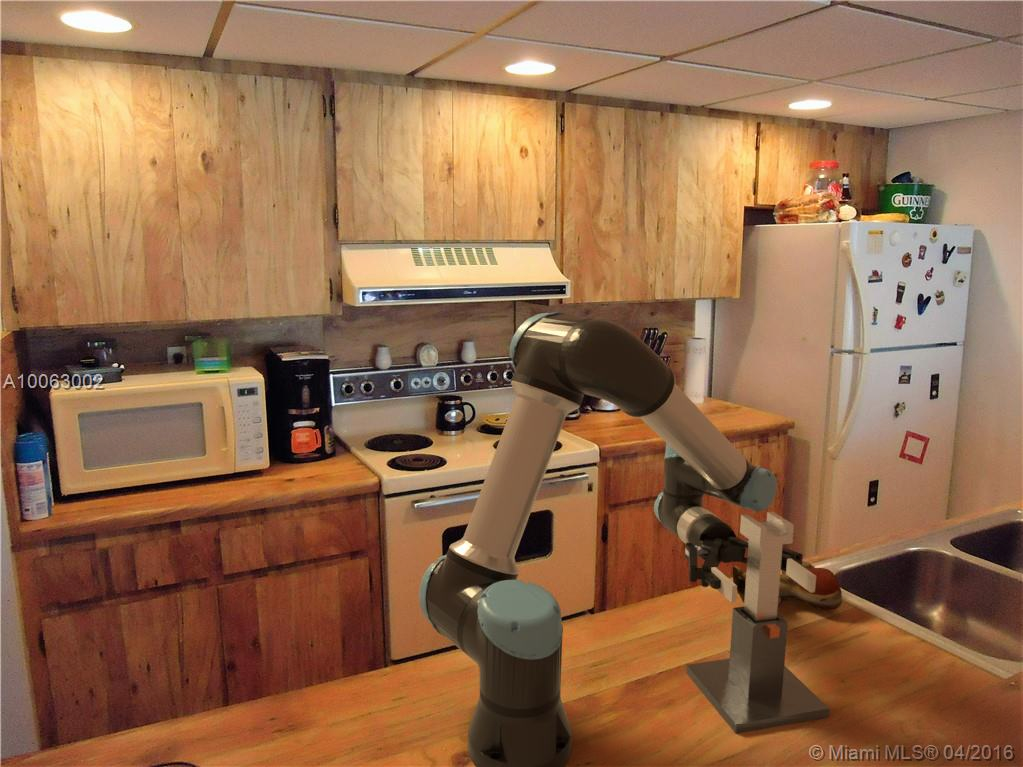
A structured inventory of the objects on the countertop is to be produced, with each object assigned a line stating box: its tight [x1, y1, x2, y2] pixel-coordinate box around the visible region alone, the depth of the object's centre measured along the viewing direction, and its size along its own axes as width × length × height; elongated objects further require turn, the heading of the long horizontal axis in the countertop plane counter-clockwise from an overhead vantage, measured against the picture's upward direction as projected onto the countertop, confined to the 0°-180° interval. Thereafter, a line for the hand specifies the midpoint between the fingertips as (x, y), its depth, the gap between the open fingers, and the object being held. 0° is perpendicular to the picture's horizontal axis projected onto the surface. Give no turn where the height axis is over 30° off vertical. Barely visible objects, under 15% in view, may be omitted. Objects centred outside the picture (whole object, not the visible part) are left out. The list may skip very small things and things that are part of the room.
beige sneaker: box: [732, 560, 843, 611], centre depth 149 cm, size 15×9×20 cm
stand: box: [685, 605, 830, 734], centre depth 119 cm, size 16×16×14 cm
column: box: [739, 511, 795, 623], centre depth 118 cm, size 6×6×28 cm
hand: (774, 589), depth 114 cm, fingers open, 13 cm apart
